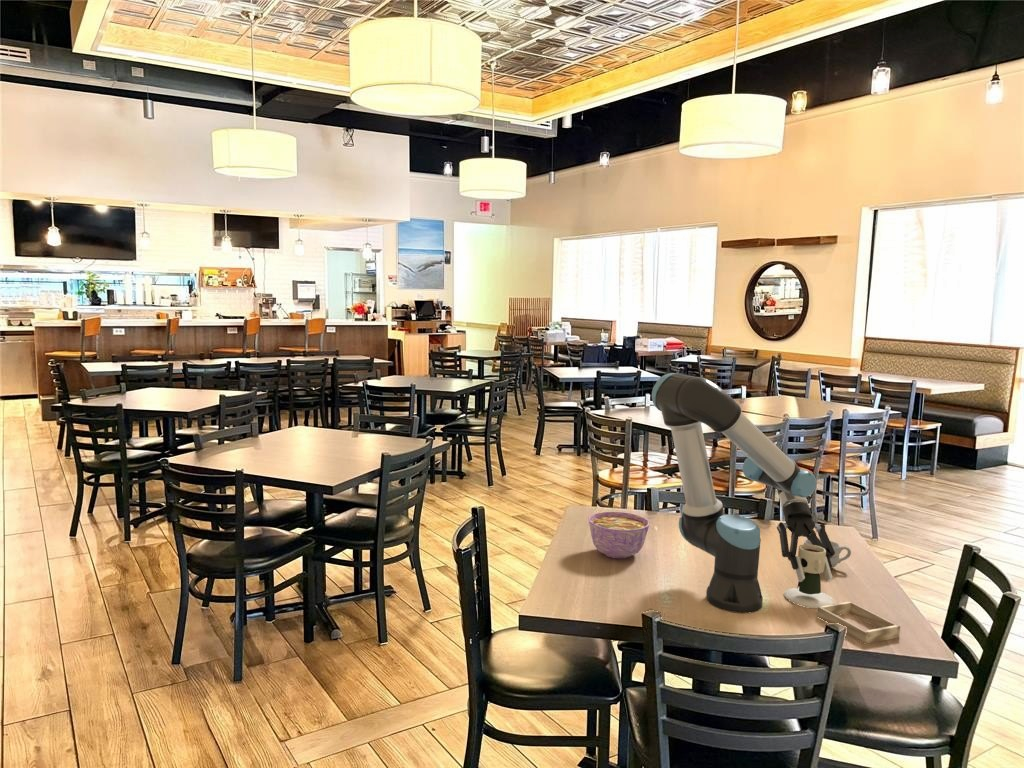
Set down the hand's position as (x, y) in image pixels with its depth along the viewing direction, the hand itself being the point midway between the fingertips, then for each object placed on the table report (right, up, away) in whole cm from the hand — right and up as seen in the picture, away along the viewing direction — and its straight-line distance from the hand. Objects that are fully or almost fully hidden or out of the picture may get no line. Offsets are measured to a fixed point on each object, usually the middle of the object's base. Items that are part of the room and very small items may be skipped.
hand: (815, 580), depth 197 cm
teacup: (+16, -4, +30) cm, 34 cm away
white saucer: (0, -7, +4) cm, 8 cm away
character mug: (0, -5, +4) cm, 6 cm away
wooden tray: (+5, -9, -13) cm, 16 cm away
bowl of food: (-50, -2, +36) cm, 62 cm away
